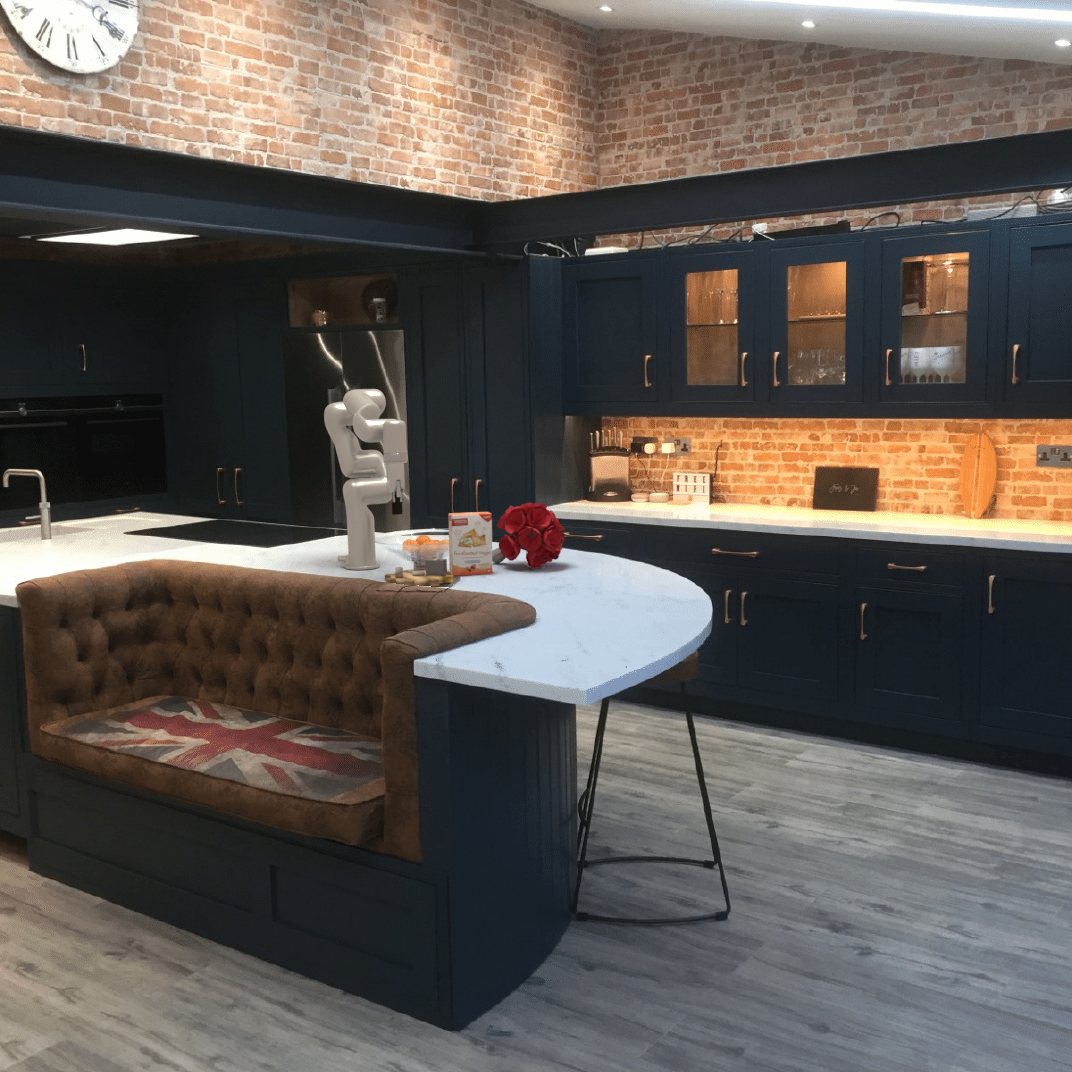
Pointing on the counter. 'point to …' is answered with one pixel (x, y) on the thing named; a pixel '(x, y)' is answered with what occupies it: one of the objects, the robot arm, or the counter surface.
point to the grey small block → (436, 567)
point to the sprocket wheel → (417, 578)
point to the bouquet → (529, 535)
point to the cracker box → (470, 543)
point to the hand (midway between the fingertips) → (397, 514)
